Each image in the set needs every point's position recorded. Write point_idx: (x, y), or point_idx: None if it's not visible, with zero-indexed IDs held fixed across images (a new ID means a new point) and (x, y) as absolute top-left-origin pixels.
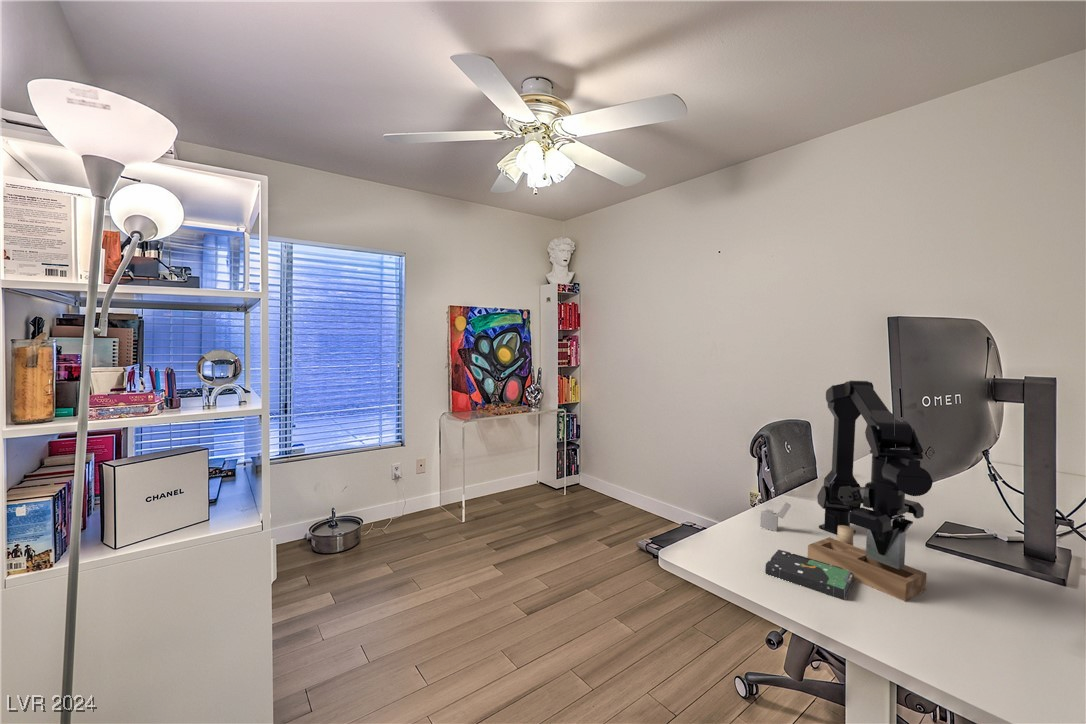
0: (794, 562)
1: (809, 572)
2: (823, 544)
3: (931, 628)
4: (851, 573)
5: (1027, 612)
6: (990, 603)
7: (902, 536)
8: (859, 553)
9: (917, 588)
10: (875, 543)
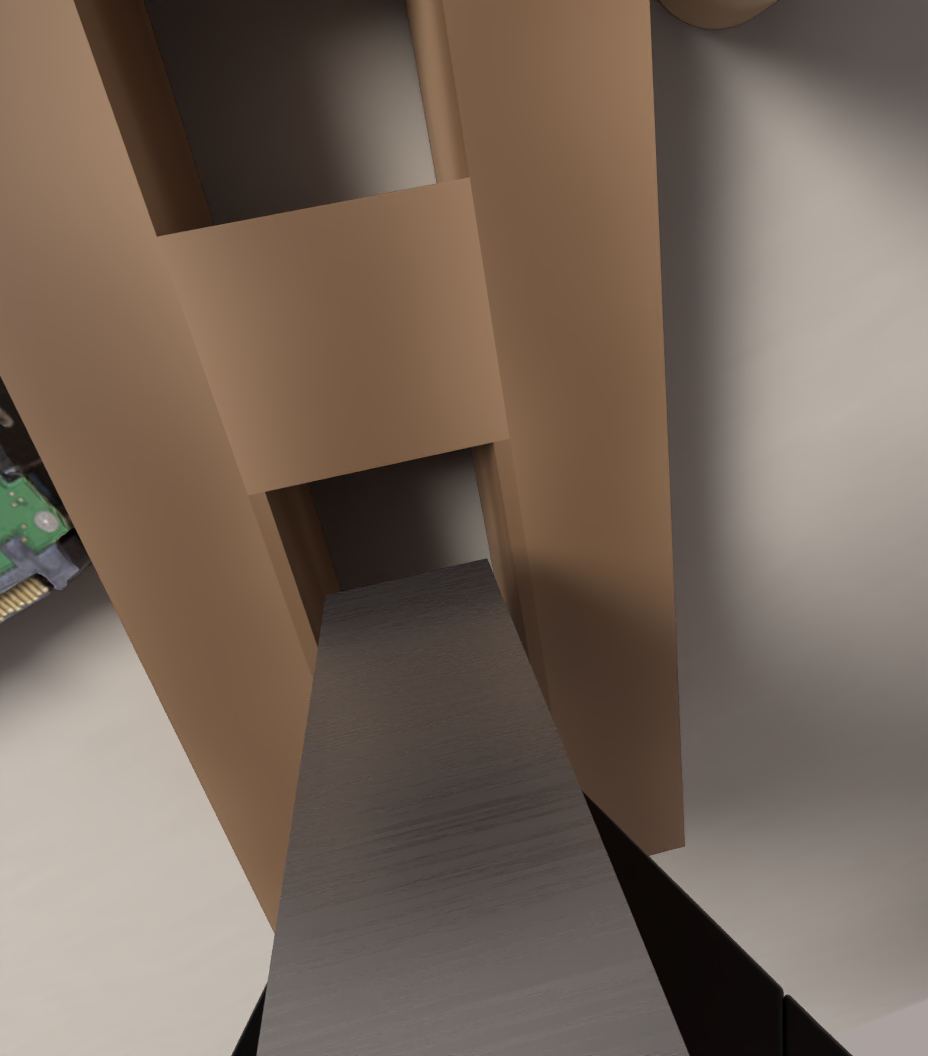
0: None
1: None
2: None
3: (173, 1004)
4: (58, 570)
5: (841, 946)
6: (789, 882)
7: None
8: (469, 375)
9: None
10: (258, 1010)
